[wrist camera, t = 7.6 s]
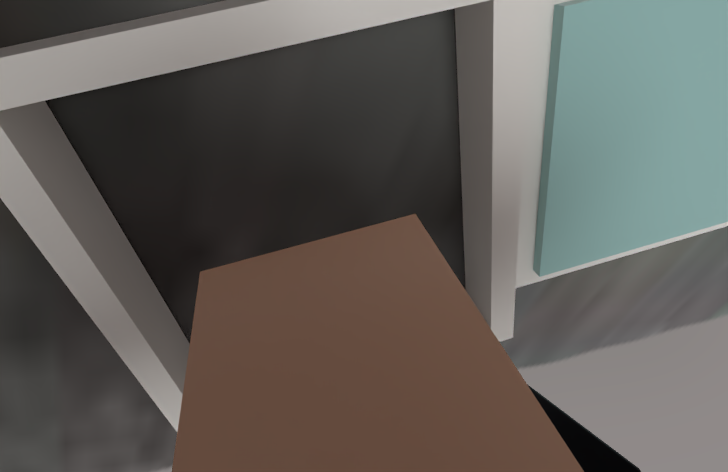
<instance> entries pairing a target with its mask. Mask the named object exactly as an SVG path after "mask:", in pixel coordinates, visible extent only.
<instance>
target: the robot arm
mask: <svg viewBox="0 0 728 472" xmlns="http://www.w3.org/2000/svg"><path fill="white" fill-rule="evenodd" d="M528 387H529V388H530V390H531V391H532V393H533V394H534V396H535V397H536V399H537V400H538V402H539V404H540V405H541V407H542V408H543V410H544V411H545V413H546V414H547V416H548V417H549V419H550V420H551V422H552V423H553V425H554V426H555V428H556V430H557V431H558V433H559V434H560V436H561V437H562V439H563V440H564V442H565V443H566V445H567V446H568V448H569V449H570V451H571V452H572V454H573V456H574V457H575V459H576V460H577V462H578V463H579V465H580V466H581V468H582V469H583V471H584V472H641V471H640V469H639V468H638V467H636V466H635V465H634V464H632V463H631V462H630V461H628V460H627V459H626V458H624V457H623V456H622V455H620V454H619V453H618V452H616V451H615V450H614V449H612V448H611V447H609V446H608V445H607V444H606V443H604V442H603V441H602V440H600V439H599V438H598V437H596V436H595V435H594V434H592V433H591V432H590V431H588V430H587V429H586V428H584V427H583V426H582V425H580V424H579V423H578V422H576V421H575V420H573V419H572V418H571V417H570V416H568V415H567V414H566V413H564V412H563V411H562V410H560V409H559V408H558V407H556V406H555V405H554V404H552V403H551V402H550V401H549V400H547V399H546V398H545V397H543V396H542V395H541V394H539V393H538V392H537V391H535V390H534V389H532V388H531V387H530V386H528Z"/></svg>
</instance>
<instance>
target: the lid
mask: <svg viewBox="0 0 728 472" xmlns="http://www.w3.org/2000/svg"><path fill="white" fill-rule="evenodd" d="M726 226H728V0H530V17H529V37H528V56H527V76H526V95H525V115H524V134H523V154H522V173H521V193H520V212H519V232H518V251H517V270H516V288H518V287H522V286H525V285H529V284H532V283H535V282H539V281H542V280H546V279H549V278H552V277H556V276H559V275H563V274H566V273H569V272H573V271H576V270H580V269H583V268H586V267H590V266H593V265H597V264H600V263H603V262H607V261H610V260H614V259H617V258H620V257H624V256H627V255H630V254H634V253H637V252H641V251H644V250H647V249H651V248H654V247H658V246H661V245H664V244H668V243H671V242H675V241H678V240H681V239H685V238H688V237H692V236H695V235H698V234H702V233H705V232H709V231H712V230H715V229H719V228H722V227H726Z"/></svg>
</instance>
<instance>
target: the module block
mask: <svg viewBox="0 0 728 472" xmlns="http://www.w3.org/2000/svg"><path fill="white" fill-rule="evenodd" d="M172 472H584V471H583V469H582V468H581V466H580V465H579V463H578V462H577V460H576V459H575V457H574V456H573V454H572V452H571V451H570V449H569V448H568V446H567V445H566V443H565V442H564V440H563V439H562V437H561V436H560V434H559V433H558V431H557V430H556V428H555V426H554V425H553V423H552V422H551V420H550V419H549V417H548V416H547V414H546V413H545V411H544V410H543V408H542V407H541V405H540V404H539V402H538V400H537V399H536V397H535V396H534V394H533V393H532V391H531V390H530V388H529V387H528V385H527V384H526V382H525V381H524V379H523V378H522V376H521V374H520V373H519V371H518V370H517V368H516V367H515V365H514V364H513V362H512V361H511V359H510V358H509V356H508V355H507V353H506V352H505V350H504V348H503V347H502V345H501V344H500V342H499V341H498V339H497V338H496V336H495V335H494V333H493V332H492V330H491V329H490V327H489V325H488V324H487V322H486V321H485V319H484V318H483V316H482V315H481V313H480V312H479V310H478V309H477V307H476V306H475V304H474V303H473V301H472V299H471V298H470V296H469V295H468V293H467V292H466V290H465V289H464V287H463V286H462V284H461V283H460V281H459V280H458V278H457V277H456V275H455V273H454V272H453V270H452V269H451V267H450V266H449V264H448V263H447V261H446V260H445V258H444V257H443V255H442V254H441V252H440V251H439V249H438V247H437V246H436V244H435V243H434V241H433V240H432V238H431V237H430V235H429V234H428V232H427V231H426V229H425V228H424V226H423V225H422V223H421V221H420V220H419V218H418V217H417V215H416V214H412V215H408V216H405V217H401V218H397V219H394V220H390V221H386V222H382V223H379V224H375V225H371V226H368V227H364V228H360V229H356V230H353V231H349V232H345V233H342V234H338V235H334V236H330V237H327V238H323V239H319V240H316V241H312V242H308V243H305V244H301V245H297V246H293V247H290V248H286V249H282V250H279V251H275V252H271V253H267V254H264V255H260V256H256V257H253V258H249V259H245V260H241V261H238V262H234V263H230V264H227V265H223V266H219V267H216V268H212V269H208V270H204V271H201V272H200V275H199V282H198V289H197V296H196V303H195V311H194V318H193V325H192V332H191V339H190V346H189V353H188V360H187V367H186V375H185V382H184V389H183V396H182V403H181V410H180V417H179V424H178V432H177V439H176V446H175V453H174V460H173V467H172Z"/></svg>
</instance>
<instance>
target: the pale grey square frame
mask: <svg viewBox="0 0 728 472" xmlns="http://www.w3.org/2000/svg"><path fill="white" fill-rule="evenodd" d="M453 8H455V30H456V56H457V82H458V108H459V133H460V159H461V185H462V210H463V236H464V262H465V287H466V289H465V290H466V292H467V293H468V295H469V296H470V298H471V299H472V301H473V303H474V304H475V306H476V307H477V309H478V310H479V312H480V313H481V315H482V316H483V318H484V319H485V321H486V322H487V324H488V325H489V327H490V329H491V330H492V332H493V333H494V335H495V336H496V338H497V339H498V341H499V342H500V341H504V340H507V339H510V338H513V329H514V309H515V290H516V270H517V251H518V232H519V212H520V193H521V173H522V154H523V134H524V115H525V95H526V76H527V56H528V37H529V17H530V0H224V1H220V2H215V3H210V4H206V5H201V6H196V7H192V8H187V9H182V10H177V11H173V12H168V13H163V14H159V15H154V16H149V17H144V18H140V19H135V20H130V21H126V22H121V23H116V24H112V25H107V26H102V27H97V28H93V29H88V30H83V31H79V32H74V33H69V34H64V35H60V36H55V37H50V38H46V39H41V40H36V41H32V42H27V43H22V44H17V45H13V46H8V47H3V48H0V198H1V200H2V201H3V202H4V204H5V205H6V206H7V208H8V209H9V210H10V211H11V213H12V214H13V215H14V217H15V218H16V219H17V221H18V222H19V223H20V225H21V226H22V227H23V229H24V230H25V231H26V233H27V234H28V235H29V237H30V238H31V239H32V241H33V242H34V243H35V245H36V246H37V247H38V249H39V250H40V251H41V253H42V254H43V255H44V257H45V258H46V259H47V261H48V262H49V263H50V264H51V266H52V267H53V268H54V270H55V271H56V272H57V274H58V275H59V276H60V278H61V279H62V280H63V282H64V283H65V284H66V286H67V287H68V288H69V290H70V291H71V292H72V294H73V295H74V296H75V298H76V299H77V300H78V302H79V303H80V304H81V306H82V307H83V308H84V310H85V311H86V312H87V314H88V315H89V316H90V317H91V319H92V320H93V321H94V323H95V324H96V325H97V327H98V328H99V329H100V331H101V332H102V333H103V335H104V336H105V337H106V339H107V340H108V341H109V343H110V344H111V345H112V347H113V348H114V349H115V351H116V352H117V353H118V355H119V356H120V357H121V359H122V360H123V361H124V363H125V364H126V365H127V367H128V368H129V369H130V370H131V372H132V373H133V374H134V376H135V377H136V378H137V380H138V381H139V382H140V384H141V385H142V386H143V388H144V389H145V390H146V392H147V393H148V394H149V396H150V397H151V398H152V400H153V401H154V402H155V404H156V405H157V406H158V408H159V409H160V410H161V412H162V413H163V414H164V416H165V417H166V418H167V420H168V421H169V422H170V423H171V425H172V426H173V427H174V429H175V430H176V431H177V432H178V424H179V417H180V410H181V403H182V396H183V389H184V382H185V375H186V367H187V360H188V353H189V346H190V343H189V342H188V340H187V338H186V337H185V335H184V333H183V332H182V330H181V328H180V327H179V325H178V323H177V322H176V320H175V318H174V316H173V315H172V313H171V311H170V310H169V308H168V306H167V305H166V303H165V301H164V300H163V298H162V296H161V295H160V293H159V291H158V290H157V288H156V286H155V285H154V283H153V281H152V280H151V278H150V276H149V275H148V273H147V271H146V269H145V268H144V266H143V264H142V263H141V261H140V259H139V258H138V256H137V254H136V253H135V251H134V249H133V248H132V246H131V244H130V243H129V241H128V239H127V238H126V236H125V234H124V233H123V231H122V229H121V228H120V226H119V224H118V222H117V221H116V219H115V217H114V216H113V214H112V212H111V211H110V209H109V207H108V206H107V204H106V202H105V201H104V199H103V197H102V196H101V194H100V192H99V191H98V189H97V187H96V186H95V184H94V182H93V181H92V179H91V177H90V175H89V174H88V172H87V170H86V169H85V167H84V165H83V164H82V162H81V160H80V159H79V157H78V155H77V154H76V152H75V150H74V149H73V147H72V145H71V144H70V142H69V140H68V139H67V137H66V135H65V133H64V132H63V130H62V128H61V127H60V125H59V123H58V122H57V120H56V118H55V117H54V115H53V113H52V112H51V110H50V108H49V107H48V105H47V103H46V102H45V101H46V100H50V99H54V98H59V97H63V96H68V95H72V94H77V93H81V92H85V91H90V90H94V89H99V88H103V87H108V86H112V85H116V84H121V83H125V82H130V81H134V80H139V79H143V78H148V77H152V76H156V75H161V74H165V73H170V72H174V71H179V70H183V69H187V68H192V67H196V66H201V65H205V64H210V63H214V62H218V61H223V60H227V59H232V58H236V57H241V56H245V55H249V54H254V53H258V52H263V51H267V50H272V49H276V48H281V47H285V46H289V45H294V44H298V43H303V42H307V41H312V40H316V39H320V38H325V37H329V36H334V35H338V34H343V33H347V32H351V31H356V30H360V29H365V28H369V27H374V26H378V25H382V24H387V23H391V22H396V21H400V20H405V19H409V18H413V17H418V16H422V15H427V14H431V13H436V12H440V11H445V10H449V9H453Z"/></svg>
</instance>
